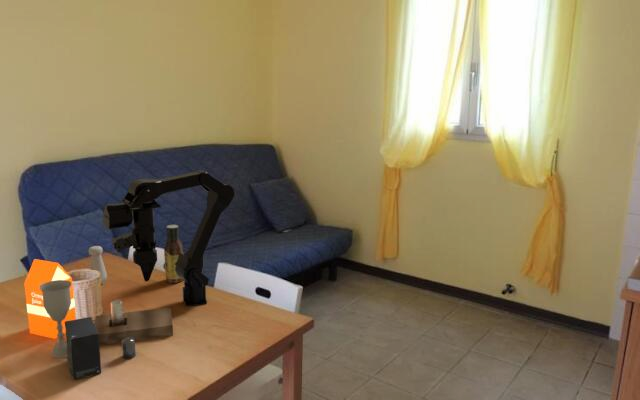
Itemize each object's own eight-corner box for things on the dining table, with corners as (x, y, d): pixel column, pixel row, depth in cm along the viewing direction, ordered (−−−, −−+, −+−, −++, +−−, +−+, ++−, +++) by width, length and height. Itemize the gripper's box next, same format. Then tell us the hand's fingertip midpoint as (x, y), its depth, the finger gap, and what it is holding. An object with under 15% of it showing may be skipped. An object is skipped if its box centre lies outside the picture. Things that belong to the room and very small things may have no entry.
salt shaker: (110, 280, 174) (108, 244, 171) (102, 286, 168) (99, 249, 166) (94, 279, 175) (91, 243, 172) (85, 285, 169) (82, 249, 166)
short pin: (135, 352, 127) (134, 336, 126) (135, 358, 124) (134, 341, 124) (123, 354, 126) (121, 337, 125) (122, 360, 123) (121, 343, 123)
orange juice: (52, 321, 143) (46, 254, 139) (77, 326, 140) (70, 258, 136) (29, 333, 136) (21, 263, 132) (54, 339, 133) (46, 267, 129)
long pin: (124, 329, 139) (122, 299, 137) (124, 334, 136) (122, 303, 134) (113, 330, 138) (110, 300, 136) (112, 335, 135) (110, 304, 134)
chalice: (84, 348, 129) (78, 282, 125) (62, 361, 122) (56, 292, 118) (61, 343, 131) (55, 278, 127) (39, 356, 125) (32, 288, 121)
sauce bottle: (167, 277, 178) (165, 223, 174) (185, 277, 179) (183, 223, 174) (163, 284, 172) (160, 228, 167) (182, 284, 172) (180, 228, 168)
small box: (103, 373, 118) (100, 332, 115) (72, 381, 114) (68, 339, 112) (95, 353, 126) (92, 315, 124) (66, 360, 123) (62, 321, 121)
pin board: (170, 316, 147) (170, 307, 147) (173, 335, 136) (172, 325, 136) (96, 325, 141) (95, 316, 140) (92, 346, 130) (92, 335, 129)
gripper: (114, 218, 149) (118, 267, 152) (111, 235, 132) (115, 290, 135) (154, 215, 153) (156, 264, 156) (155, 231, 136) (158, 286, 139)
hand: (146, 275), depth 147 cm, fingers open, 9 cm apart
